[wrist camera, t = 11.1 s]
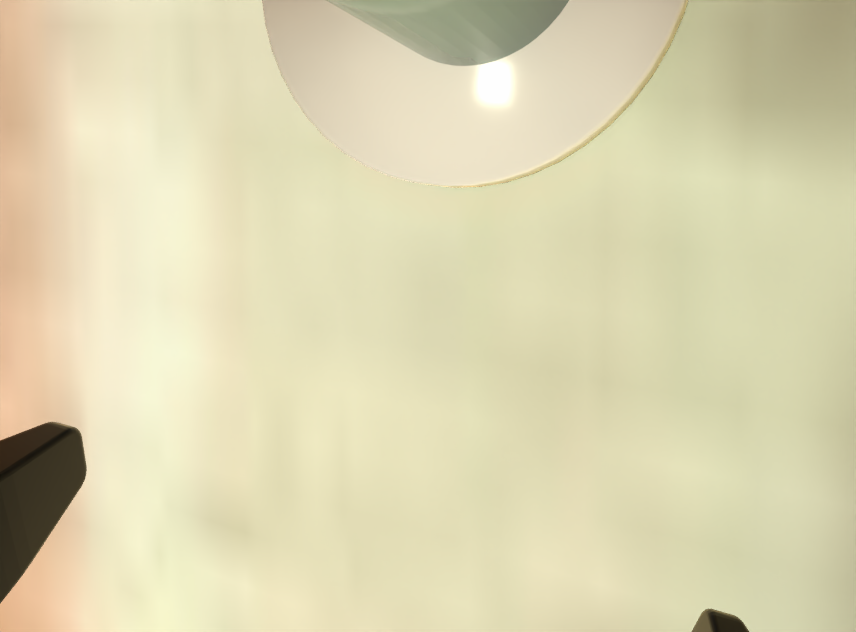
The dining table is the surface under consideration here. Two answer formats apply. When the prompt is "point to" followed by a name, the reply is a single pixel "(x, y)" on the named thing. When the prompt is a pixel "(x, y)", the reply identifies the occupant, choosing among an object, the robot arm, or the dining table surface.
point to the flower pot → (458, 25)
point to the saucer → (468, 89)
